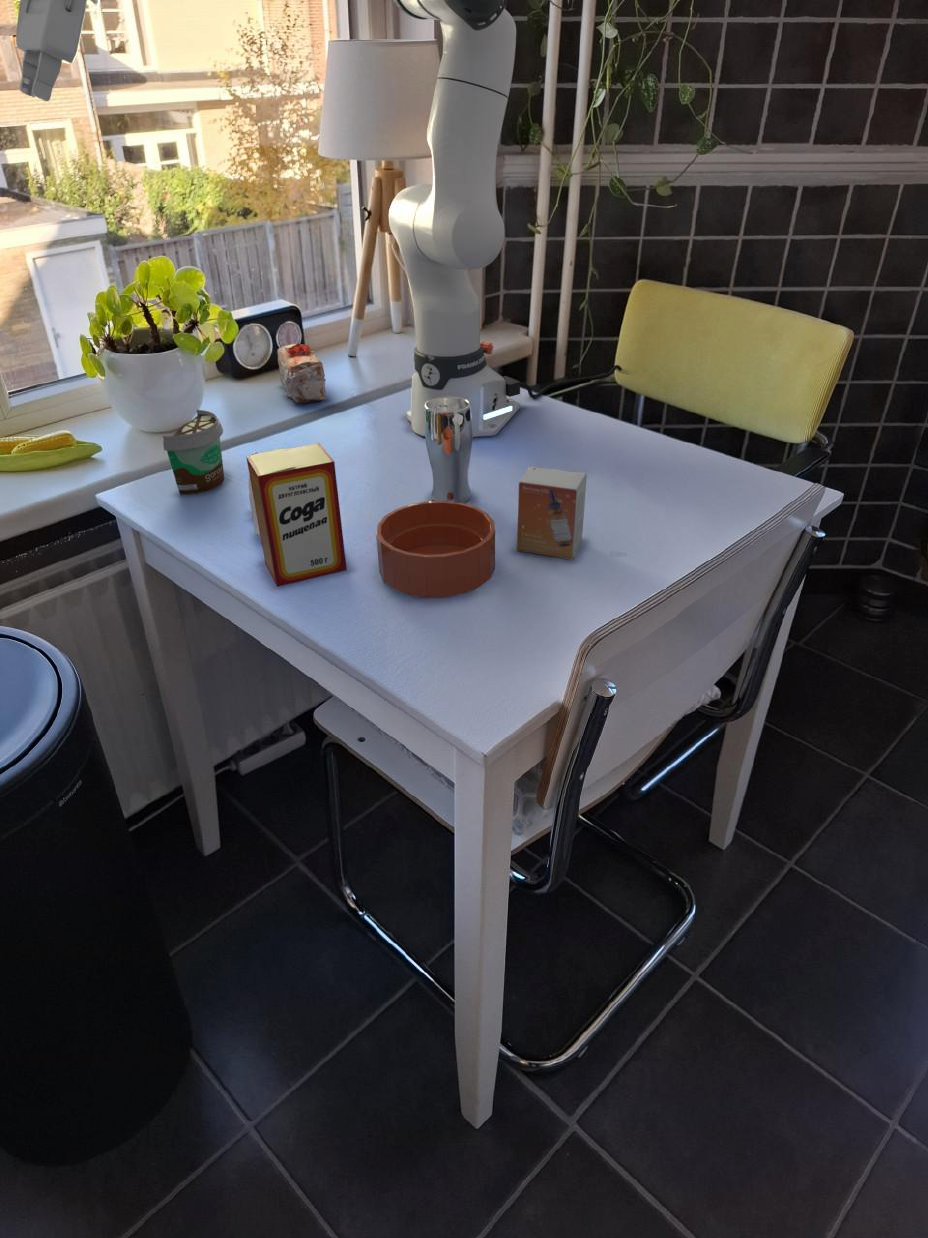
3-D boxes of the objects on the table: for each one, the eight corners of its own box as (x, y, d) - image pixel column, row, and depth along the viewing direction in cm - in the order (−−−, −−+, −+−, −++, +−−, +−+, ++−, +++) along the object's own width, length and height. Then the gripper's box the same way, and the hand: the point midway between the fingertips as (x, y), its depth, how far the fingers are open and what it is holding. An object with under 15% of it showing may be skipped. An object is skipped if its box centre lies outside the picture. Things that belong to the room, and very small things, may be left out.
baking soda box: (332, 548, 121) (319, 440, 112) (346, 570, 116) (333, 458, 107) (265, 564, 118) (245, 453, 109) (277, 586, 113) (257, 473, 104)
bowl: (403, 537, 123) (400, 495, 120) (507, 550, 119) (507, 507, 116) (362, 592, 111) (358, 548, 108) (476, 609, 107) (475, 563, 104)
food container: (211, 501, 134) (199, 439, 129) (175, 498, 135) (161, 437, 130) (244, 468, 144) (233, 410, 139) (209, 465, 145) (198, 408, 140)
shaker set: (287, 545, 122) (275, 472, 116) (256, 549, 121) (244, 476, 115) (280, 508, 132) (270, 439, 126) (252, 511, 131) (240, 442, 125)
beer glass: (479, 491, 135) (478, 397, 126) (465, 511, 129) (462, 414, 121) (437, 486, 137) (433, 393, 128) (421, 505, 131) (416, 409, 123)
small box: (516, 552, 119) (516, 481, 113) (527, 533, 123) (529, 464, 117) (573, 561, 117) (577, 489, 111) (583, 541, 121) (587, 471, 115)
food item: (332, 401, 169) (326, 351, 164) (292, 408, 167) (285, 357, 161) (313, 381, 180) (307, 333, 174) (275, 387, 177) (267, 338, 172)
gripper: (109, -18, 95) (77, 114, 99) (73, -10, 110) (47, 105, 114) (48, -53, 91) (17, 86, 95) (19, -40, 106) (-7, 80, 110)
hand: (33, 96), depth 105 cm, fingers open, 8 cm apart
